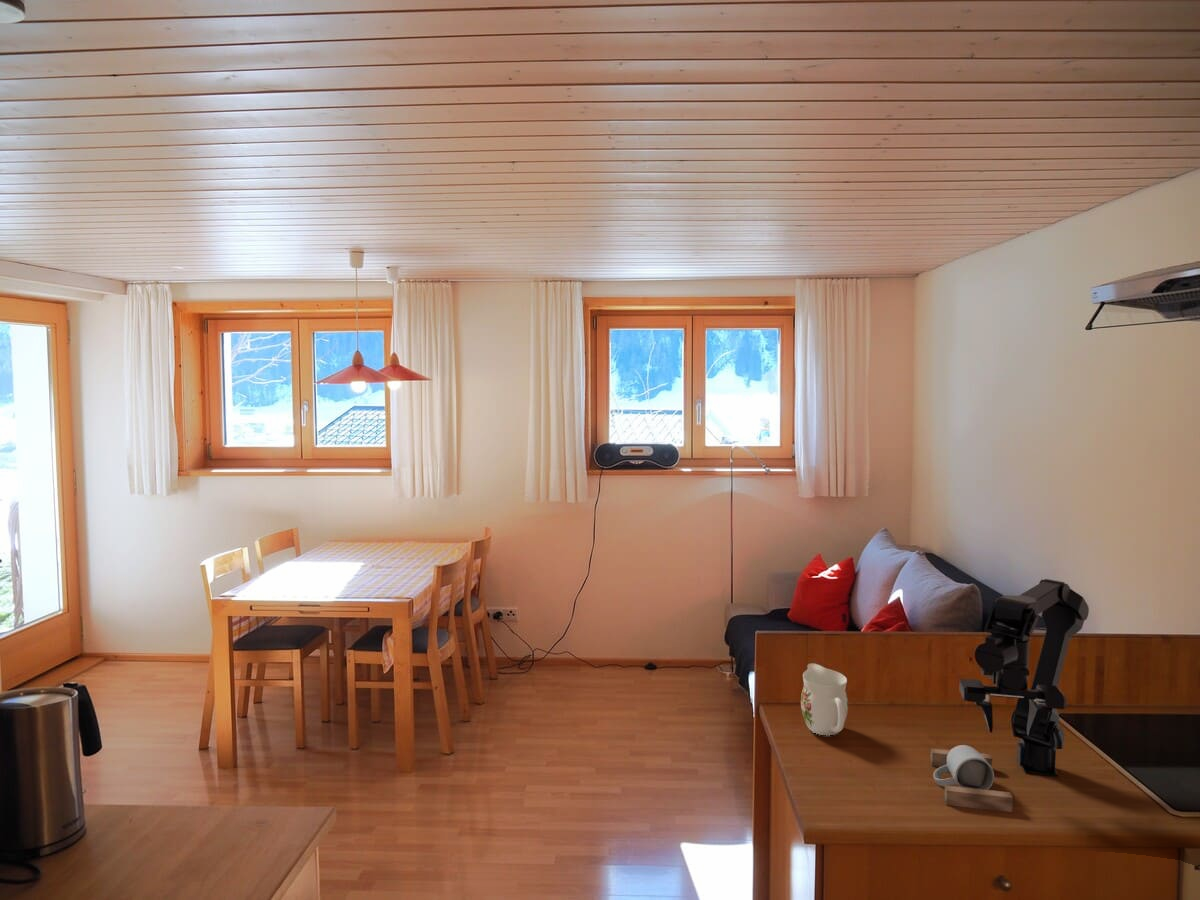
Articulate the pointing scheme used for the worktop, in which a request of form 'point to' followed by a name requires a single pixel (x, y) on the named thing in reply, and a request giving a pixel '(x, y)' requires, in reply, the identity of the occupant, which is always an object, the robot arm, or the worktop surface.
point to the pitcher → (824, 700)
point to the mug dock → (972, 790)
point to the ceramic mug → (966, 769)
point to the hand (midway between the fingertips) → (1009, 733)
